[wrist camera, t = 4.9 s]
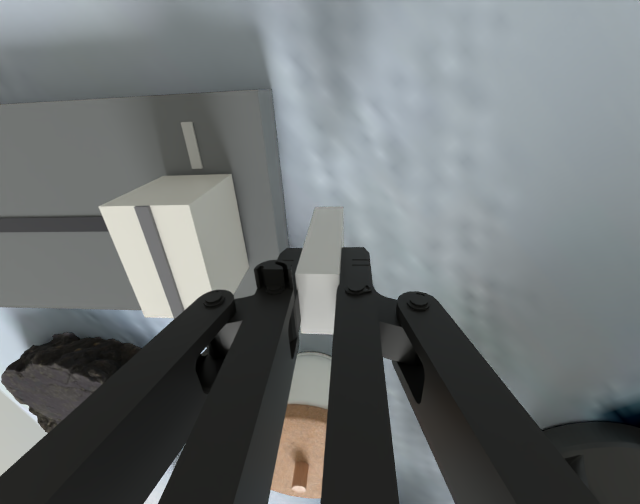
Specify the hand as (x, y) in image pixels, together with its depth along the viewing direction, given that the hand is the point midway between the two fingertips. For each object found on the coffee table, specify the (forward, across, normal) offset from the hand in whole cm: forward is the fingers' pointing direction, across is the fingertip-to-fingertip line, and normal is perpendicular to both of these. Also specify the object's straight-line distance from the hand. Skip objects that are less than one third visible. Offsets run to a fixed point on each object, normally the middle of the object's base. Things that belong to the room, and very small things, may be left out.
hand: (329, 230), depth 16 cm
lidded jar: (+5, +2, +17) cm, 18 cm away
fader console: (+5, +17, 0) cm, 18 cm away
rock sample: (+5, +23, +20) cm, 31 cm away
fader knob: (+1, +7, 0) cm, 7 cm away
